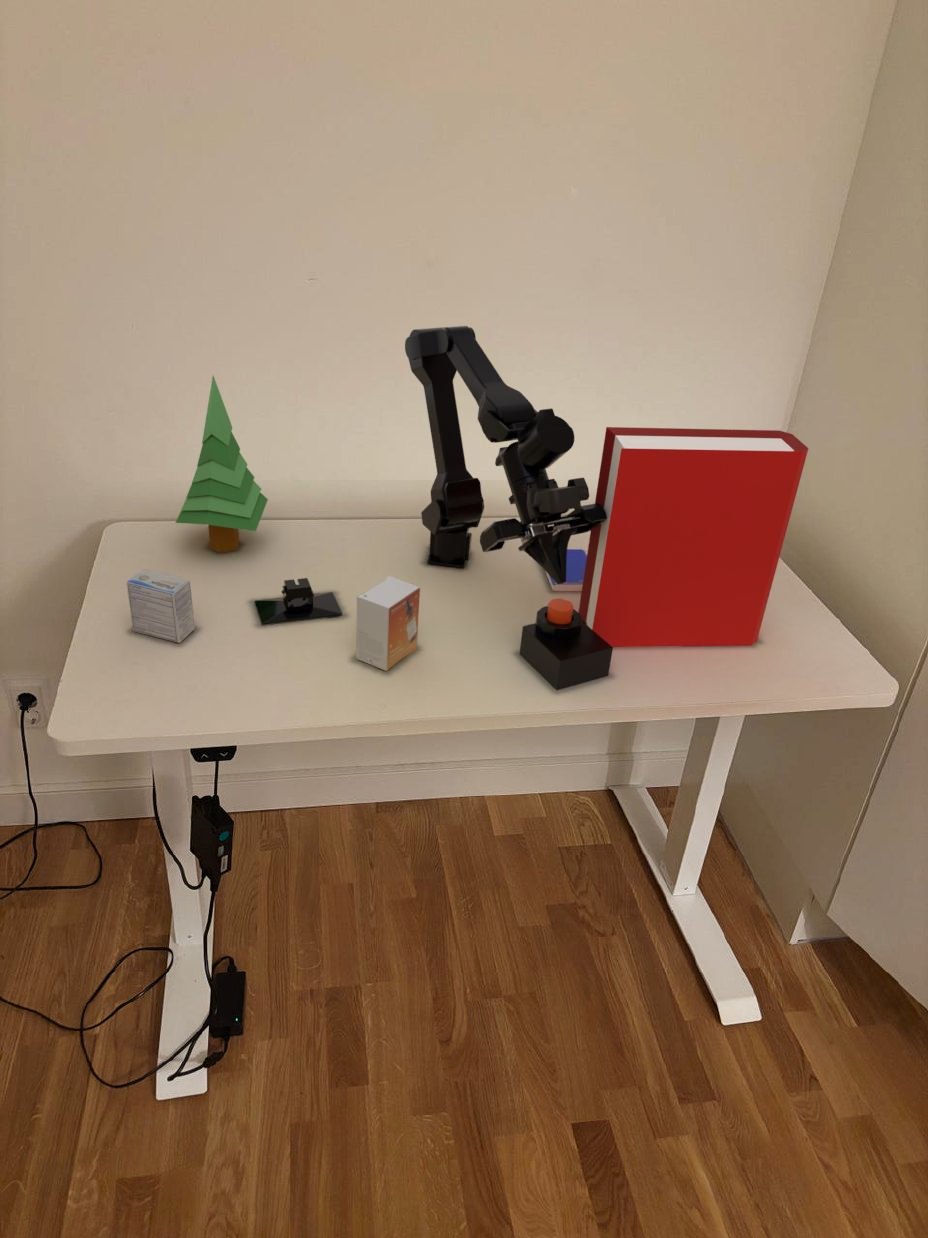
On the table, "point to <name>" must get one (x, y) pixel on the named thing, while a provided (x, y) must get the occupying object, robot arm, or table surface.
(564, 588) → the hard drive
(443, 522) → the robot arm
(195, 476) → the decorative tree
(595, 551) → the book
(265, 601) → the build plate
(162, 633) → the medicine box
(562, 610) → the button
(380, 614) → the small box
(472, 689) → the table surface
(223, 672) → the table surface
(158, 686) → the table surface
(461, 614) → the table surface
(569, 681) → the button base
